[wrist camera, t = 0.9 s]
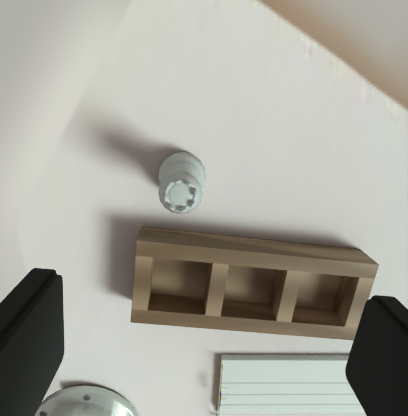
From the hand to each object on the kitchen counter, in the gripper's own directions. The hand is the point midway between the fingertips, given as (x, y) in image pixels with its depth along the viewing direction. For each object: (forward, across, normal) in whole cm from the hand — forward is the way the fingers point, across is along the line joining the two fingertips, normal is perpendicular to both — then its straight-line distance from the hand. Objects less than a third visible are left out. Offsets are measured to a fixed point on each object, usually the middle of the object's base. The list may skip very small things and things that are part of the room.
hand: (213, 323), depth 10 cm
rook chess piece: (+22, +2, 0) cm, 23 cm away
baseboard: (+23, -20, +25) cm, 39 cm away
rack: (+22, -6, +11) cm, 25 cm away
